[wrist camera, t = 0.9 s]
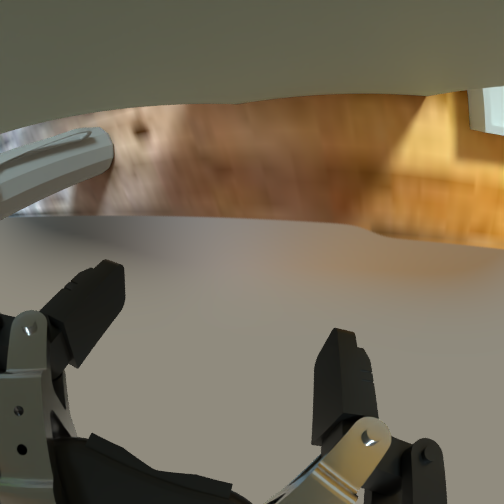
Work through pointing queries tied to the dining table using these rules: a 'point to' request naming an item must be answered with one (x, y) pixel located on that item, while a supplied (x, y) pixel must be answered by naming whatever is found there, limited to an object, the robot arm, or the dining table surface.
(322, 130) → the dining table surface
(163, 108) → the dining table surface
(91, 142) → the water bottle
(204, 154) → the dining table surface
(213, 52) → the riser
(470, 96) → the tray
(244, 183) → the dining table surface
